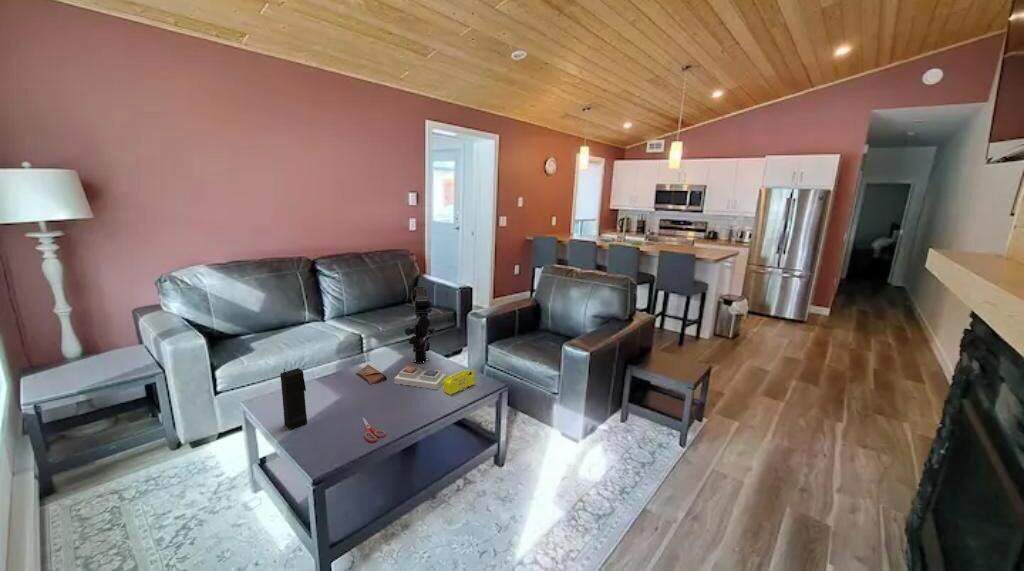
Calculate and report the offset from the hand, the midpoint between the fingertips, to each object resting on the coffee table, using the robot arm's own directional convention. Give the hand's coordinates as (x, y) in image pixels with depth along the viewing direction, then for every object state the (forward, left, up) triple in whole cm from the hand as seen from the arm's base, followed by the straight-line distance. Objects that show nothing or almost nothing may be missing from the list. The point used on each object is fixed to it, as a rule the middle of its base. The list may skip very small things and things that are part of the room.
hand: (422, 351), depth 213 cm
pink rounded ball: (+9, -2, -8) cm, 12 cm away
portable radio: (+58, -27, -12) cm, 65 cm away
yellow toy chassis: (+10, +24, -12) cm, 29 cm away
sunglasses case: (+12, -23, -13) cm, 29 cm away
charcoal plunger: (+9, +8, -9) cm, 15 cm away
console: (+9, +3, -12) cm, 15 cm away
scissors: (+53, +1, -13) cm, 55 cm away
